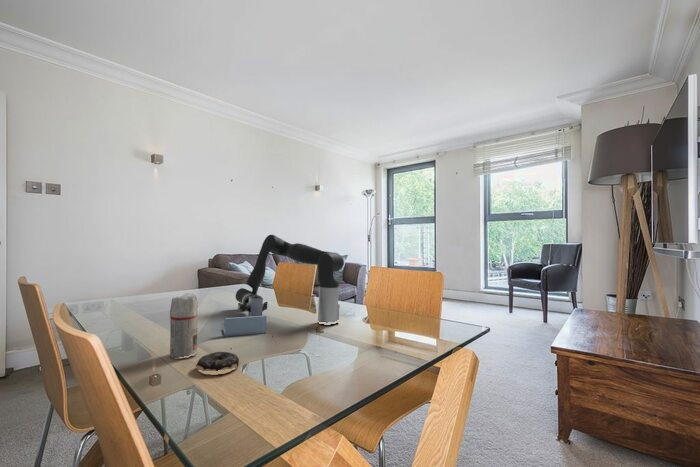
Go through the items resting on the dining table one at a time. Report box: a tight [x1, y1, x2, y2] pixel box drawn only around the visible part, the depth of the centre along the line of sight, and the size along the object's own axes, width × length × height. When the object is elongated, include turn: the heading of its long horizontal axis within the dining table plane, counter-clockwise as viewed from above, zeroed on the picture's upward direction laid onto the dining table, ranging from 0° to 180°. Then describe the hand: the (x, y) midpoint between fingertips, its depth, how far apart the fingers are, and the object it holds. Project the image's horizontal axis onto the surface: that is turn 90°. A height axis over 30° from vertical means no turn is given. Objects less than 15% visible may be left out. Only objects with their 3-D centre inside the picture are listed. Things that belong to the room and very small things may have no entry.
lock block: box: [247, 294, 264, 317], centre depth 150 cm, size 5×7×13 cm
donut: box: [195, 351, 240, 371], centre depth 99 cm, size 11×12×4 cm
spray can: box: [169, 292, 199, 360], centre depth 108 cm, size 8×8×20 cm
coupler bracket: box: [222, 315, 268, 337], centre depth 138 cm, size 16×10×7 cm, turn 115°
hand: (256, 309), depth 148 cm, fingers closed on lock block, 5 cm apart
